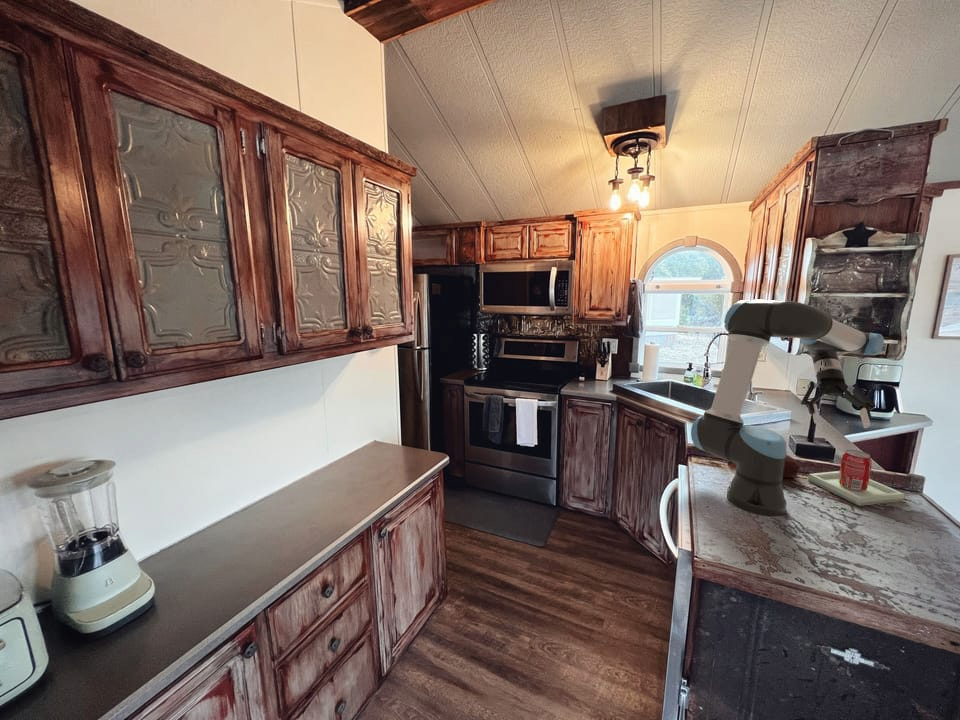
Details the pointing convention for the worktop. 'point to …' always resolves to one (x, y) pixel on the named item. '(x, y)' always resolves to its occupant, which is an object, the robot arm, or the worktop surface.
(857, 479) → the soda can
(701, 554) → the worktop surface
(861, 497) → the tray
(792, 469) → the potato
